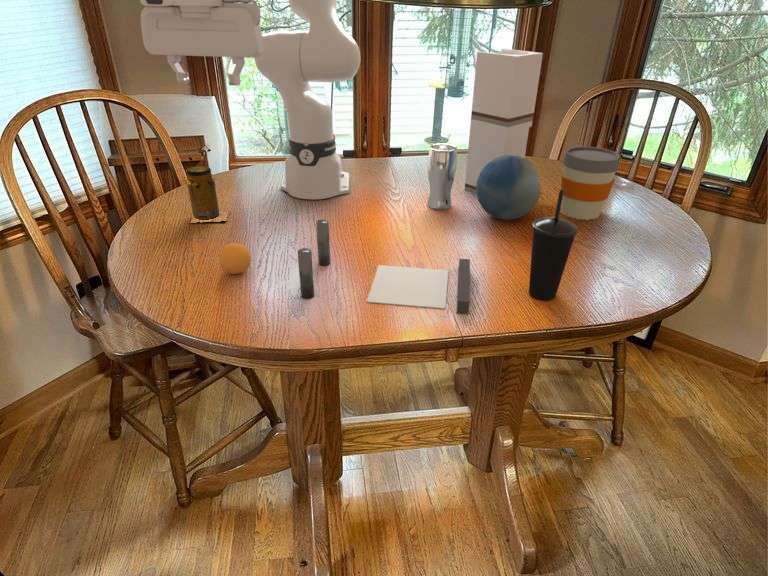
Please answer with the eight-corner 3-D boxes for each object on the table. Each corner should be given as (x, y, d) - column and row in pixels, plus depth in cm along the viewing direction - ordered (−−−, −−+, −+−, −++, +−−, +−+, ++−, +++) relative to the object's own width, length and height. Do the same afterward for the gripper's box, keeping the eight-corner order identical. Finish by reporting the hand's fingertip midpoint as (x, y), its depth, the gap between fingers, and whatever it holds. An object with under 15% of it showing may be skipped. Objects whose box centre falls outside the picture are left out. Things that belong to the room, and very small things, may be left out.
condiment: (195, 212, 129) (186, 164, 123) (230, 211, 130) (223, 163, 124) (189, 224, 123) (179, 174, 117) (226, 223, 124) (218, 173, 118)
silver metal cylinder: (443, 212, 131) (448, 152, 123) (420, 206, 134) (423, 147, 127) (458, 204, 136) (463, 146, 128) (435, 198, 139) (438, 141, 132)
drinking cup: (556, 283, 101) (576, 182, 91) (569, 304, 94) (593, 198, 84) (516, 283, 101) (532, 182, 91) (527, 305, 94) (545, 198, 84)
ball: (228, 263, 106) (224, 236, 103) (256, 266, 106) (253, 238, 103) (216, 278, 101) (211, 250, 98) (246, 280, 100) (242, 252, 97)
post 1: (303, 291, 97) (299, 247, 93) (315, 292, 97) (313, 248, 92) (299, 298, 95) (295, 253, 91) (312, 299, 95) (309, 254, 90)
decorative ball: (481, 202, 137) (487, 144, 130) (539, 211, 132) (550, 152, 125) (466, 223, 125) (472, 161, 118) (530, 234, 120) (540, 170, 113)
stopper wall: (458, 269, 105) (459, 258, 104) (468, 270, 105) (469, 259, 104) (456, 313, 92) (457, 300, 90) (468, 314, 91) (469, 301, 90)
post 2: (320, 260, 108) (317, 219, 104) (331, 260, 108) (329, 220, 103) (317, 265, 106) (314, 224, 102) (328, 266, 106) (326, 224, 101)
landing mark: (378, 265, 106) (378, 265, 106) (448, 271, 105) (448, 270, 105) (366, 302, 94) (366, 301, 94) (445, 309, 93) (445, 308, 93)
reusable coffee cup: (553, 219, 128) (564, 158, 121) (554, 201, 139) (565, 144, 131) (608, 225, 125) (623, 163, 117) (605, 207, 135) (619, 148, 128)
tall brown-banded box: (521, 192, 144) (542, 53, 126) (497, 201, 138) (516, 56, 120) (488, 181, 151) (504, 48, 133) (464, 190, 145) (477, 51, 127)
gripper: (265, -5, 88) (272, 83, 95) (149, -7, 90) (164, 79, 97) (251, -5, 83) (260, 88, 89) (129, -8, 85) (146, 84, 91)
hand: (209, 84), depth 93 cm, fingers open, 8 cm apart
